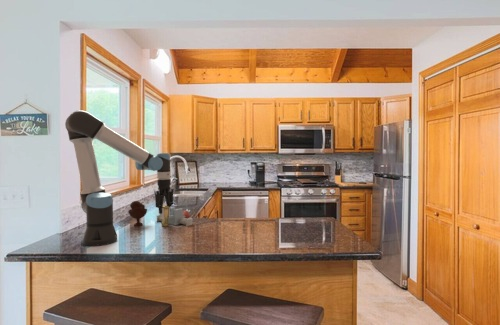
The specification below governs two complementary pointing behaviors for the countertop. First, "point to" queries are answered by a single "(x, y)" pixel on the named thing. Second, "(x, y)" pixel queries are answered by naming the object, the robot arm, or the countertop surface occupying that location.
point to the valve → (178, 217)
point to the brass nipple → (165, 217)
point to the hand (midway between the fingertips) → (164, 218)
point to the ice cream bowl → (137, 211)
